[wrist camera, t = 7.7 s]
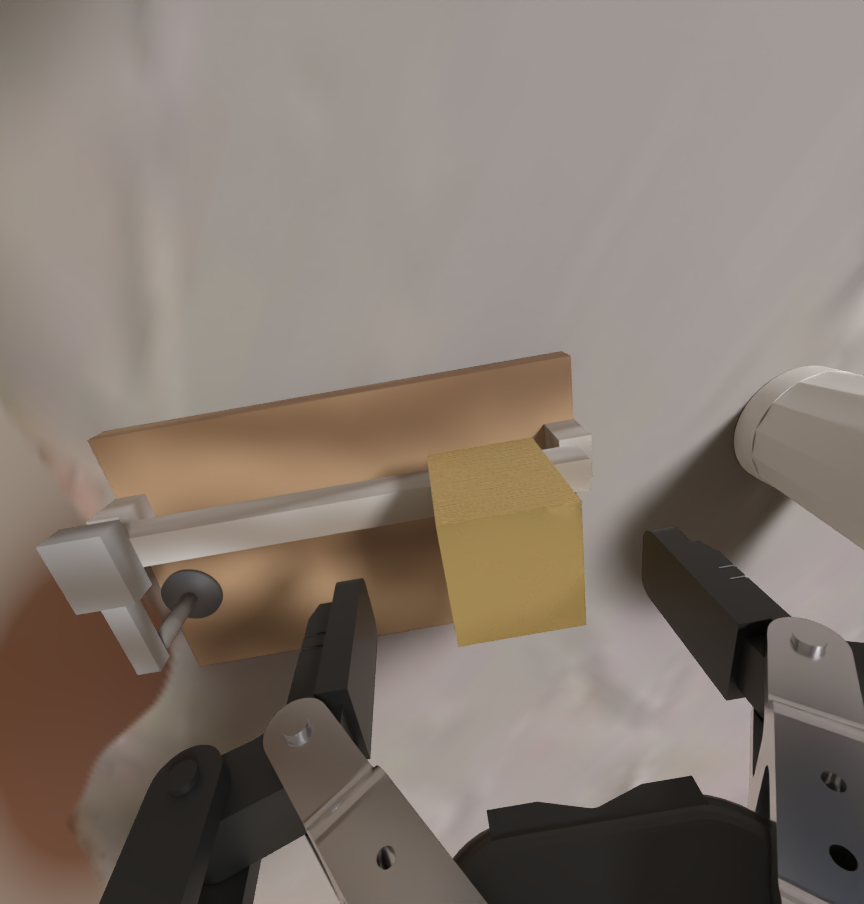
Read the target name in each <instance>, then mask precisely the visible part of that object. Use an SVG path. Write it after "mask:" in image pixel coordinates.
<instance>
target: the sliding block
mask: <svg viewBox="0 0 864 904" xmlns="http://www.w3.org/2000/svg"><path fill="white" fill-rule="evenodd" d="M427 461H428V468H429V476H430V484H431V492H432V500H433V508H434V515H435V523H436V530H437V535H438V540H439V546H440V551H441V556H442V562H443V567H444V573H445V578H446V583H447V589H448V594H449V599H450V605H451V610H452V615H453V621H454V626H455V632H456V637H457V642H458V647H460V646H466V645H472V644H477V643H483V642H489V641H495V640H501V639H507V638H512V637H518V636H524V635H530V634H536V633H542V632H547V631H553V630H559V629H565V628H571V627H577V626H583V625H586V606H585V580H584V553H583V526H582V501H581V500H580V498H579V497H578V496H577V494H576V493H575V492H574V491H573V489H572V488H571V487H570V485H569V484H568V483H567V482H566V480H565V479H564V478H563V476H562V475H561V474H560V473H559V471H558V470H557V469H556V467H555V466H554V465H553V464H552V462H551V461H550V460H549V458H548V457H547V456H546V455H545V453H544V452H543V451H542V449H541V448H540V447H539V446H538V444H537V443H536V442H535V440H534V439H533V438H532V437H530V438H524V439H518V440H513V441H507V442H501V443H495V444H490V445H484V446H478V447H472V448H467V449H461V450H455V451H449V452H444V453H438V454H432V455H427Z"/></svg>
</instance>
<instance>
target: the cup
mask: <svg viewBox="0 0 864 904" xmlns="http://www.w3.org/2000/svg"><path fill="white" fill-rule="evenodd" d="M734 449H735V454H736V457H737V459H738V461H739V463H740V465H741V466H742V467H743V468H744V469H745V470H746V471H747V472H748V473H749V474H751V475H753V476H754V477H756V478H758V479H760V480H761V481H763V482H765V483H766V484H768V485H770V486H772V487H774V488H776V489H778V490H779V491H781V492H782V493H783V494H785V495H786V496H788V497H789V498H791V499H792V500H793V501H795V502H796V503H798V504H799V505H800V506H802V507H803V508H805V509H806V510H808V511H809V512H810V513H812V514H813V515H815V516H816V517H818V518H819V519H820V520H822V521H823V522H825V523H826V524H828V525H829V526H830V527H832V528H833V529H835V530H836V531H838V532H839V533H840V534H842V535H843V536H845V537H846V538H848V539H849V540H850V541H852V542H853V543H855V544H856V545H857V546H859V547H860V548H862V549H863V550H864V375H858V374H854V373H850V372H846V371H842V370H837V369H833V368H828V367H824V366H805V367H800V368H796V369H793V370H790V371H787V372H785V373H783V374H781V375H779V376H777V377H776V378H774V379H772V380H771V381H770V382H768V383H767V384H766V385H764V386H763V387H762V388H761V389H760V390H759V391H758V392H757V393H756V394H755V395H754V396H753V397H752V398H751V400H750V401H749V402H748V404H747V405H746V407H745V408H744V410H743V412H742V413H741V415H740V418H739V420H738V423H737V426H736V429H735V435H734Z"/></svg>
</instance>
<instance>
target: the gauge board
mask: <svg viewBox="0 0 864 904" xmlns="http://www.w3.org/2000/svg"><path fill="white" fill-rule="evenodd" d="M530 437H532V438H533V439H534V440H535V442H536V443H537V444H538V446H539V447H540V448H541V449H542V451H543V452H544V453H545V455H546V456H547V457H548V458H549V460H550V461H551V462H552V464H553V465H554V466H555V467H556V469H557V470H558V471H559V473H560V474H561V475H562V476H563V478H564V479H565V480H566V482H567V483H568V484H569V485H570V487H571V488H572V489H573V491H574V492H575V493H576V492H580V491H586V490H591V477H593V475H592V437H591V434H590V433H589V432H588V431H587V430H585V429H584V428H583V427H582V426H581V425H580V424H578V423H577V422H576V421H575V420H574V419H573V403H572V379H571V356H570V355H568V354H566V353H564V352H562V351H561V352H555V353H550V354H544V355H538V356H533V357H527V358H521V359H515V360H510V361H504V362H498V363H493V364H487V365H481V366H475V367H470V368H464V369H458V370H453V371H447V372H441V373H436V374H430V375H424V376H418V377H413V378H407V379H401V380H396V381H390V382H384V383H378V384H373V385H367V386H361V387H356V388H350V389H344V390H339V391H333V392H327V393H321V394H316V395H310V396H304V397H299V398H293V399H287V400H281V401H276V402H270V403H264V404H259V405H253V406H247V407H241V408H236V409H230V410H224V411H219V412H213V413H207V414H202V415H196V416H190V417H184V418H179V419H173V420H167V421H162V422H156V423H150V424H144V425H139V426H133V427H127V428H122V429H116V430H110V431H105V432H102V433H101V434H99V435H97V436H95V437H93V438H91V439H89V440H88V442H89V444H90V446H91V448H92V450H93V452H94V454H95V456H96V458H97V460H98V462H99V464H100V466H101V468H102V470H103V473H104V475H105V477H106V479H107V481H108V483H109V485H110V487H111V489H112V491H113V493H114V495H115V497H116V499H115V500H114V501H113V502H111V503H110V504H109V505H108V506H106V507H105V508H104V509H103V510H101V511H100V512H99V513H97V514H96V515H95V516H94V517H92V518H91V519H90V520H89V521H87V522H86V524H87V525H84V526H78V527H72V528H67V529H61V530H58V531H57V532H56V533H54V534H53V535H52V536H50V537H49V538H48V539H46V540H45V541H44V542H42V543H41V544H40V545H38V546H37V547H36V549H37V551H38V552H39V554H40V556H41V557H42V559H43V561H44V562H45V564H46V566H47V567H48V569H49V571H50V572H51V574H52V576H53V577H54V579H55V580H56V582H57V584H58V585H59V587H60V589H61V590H62V592H63V594H64V595H65V597H66V599H67V600H68V602H69V604H70V605H71V607H72V608H73V610H74V612H75V614H76V615H78V614H84V613H90V612H96V611H101V612H102V613H103V615H104V617H105V618H106V620H107V622H108V624H109V625H110V627H111V629H112V631H113V632H114V634H115V636H116V637H117V639H118V641H119V643H120V644H121V646H122V648H123V650H124V651H125V653H126V655H127V657H128V658H129V660H130V662H131V664H132V665H133V667H134V669H135V671H136V672H137V674H138V675H140V674H146V673H152V672H158V671H161V670H162V668H163V666H164V665H165V663H166V661H167V660H168V658H169V654H168V652H167V649H168V648H169V646H170V645H171V643H172V641H173V640H174V638H175V637H176V635H177V633H178V632H179V630H180V629H181V630H182V632H183V634H184V636H185V638H186V640H187V642H188V644H189V646H190V648H191V650H192V652H193V654H194V656H195V658H196V660H197V662H198V664H199V666H206V665H212V664H218V663H224V662H229V661H235V660H241V659H247V658H253V657H258V656H264V655H270V654H276V653H282V652H288V651H293V650H299V649H301V647H302V643H303V639H304V638H305V632H306V628H307V624H308V620H309V618H310V617H311V615H312V614H313V613H314V611H315V610H316V608H317V607H318V606H319V604H323V603H329V602H332V600H333V595H334V590H335V585H336V583H337V582H341V581H347V580H353V579H359V578H363V579H364V581H365V584H366V587H367V591H368V595H369V598H370V602H371V606H372V610H373V613H374V617H375V622H376V628H377V636H381V635H387V634H393V633H398V632H404V631H410V630H416V629H422V628H427V627H433V626H439V625H445V624H451V623H454V621H453V615H452V610H451V605H450V599H449V594H448V589H447V583H446V578H445V573H444V567H443V562H442V556H441V551H440V546H439V540H438V535H437V530H436V523H435V515H434V508H433V500H432V492H431V484H430V476H429V468H428V461H427V455H432V454H438V453H444V452H449V451H455V450H461V449H467V448H472V447H478V446H484V445H490V444H495V443H501V442H507V441H513V440H518V439H524V438H530ZM147 566H150V567H151V569H152V571H153V573H154V575H155V577H156V579H157V581H158V583H159V585H160V587H161V596H162V599H163V601H164V603H165V605H166V606H167V607H168V608H169V609H170V610H171V613H170V614H169V615H168V617H167V618H166V620H165V621H164V623H163V624H162V626H161V627H160V629H159V630H158V632H157V631H156V629H155V627H154V625H153V624H152V622H151V620H150V618H149V616H148V614H147V612H146V610H145V608H144V606H143V605H142V603H141V601H140V599H141V598H142V597H143V595H144V594H145V593H146V592H147V590H148V589H149V588H150V587H151V585H152V583H151V581H150V579H149V577H148V575H147V573H146V571H145V569H144V567H147Z"/></svg>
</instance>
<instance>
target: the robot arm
mask: <svg viewBox="0 0 864 904" xmlns="http://www.w3.org/2000/svg"><path fill="white" fill-rule="evenodd" d="M642 581H643V585H644V588H645V591H646V593H647V595H648V596H649V598H650V599H651V601H652V602H653V603H654V605H655V606H656V607H657V609H658V610H659V611H660V613H661V614H662V615H663V617H664V618H665V619H666V621H667V622H668V623H669V625H670V626H671V627H672V629H673V630H674V631H675V633H676V634H677V635H678V637H679V638H680V639H681V641H682V642H683V643H684V645H685V646H686V647H687V649H688V650H689V651H690V653H691V654H692V655H693V657H694V658H695V659H696V661H697V662H698V663H699V665H700V666H701V667H702V669H703V670H704V671H705V673H706V674H707V675H708V677H709V678H710V679H711V681H712V682H713V683H714V685H715V686H716V687H717V689H718V690H719V691H720V693H721V694H722V695H723V697H724V698H725V699H726V700H732V699H738V698H744V697H746V699H747V700H748V701H749V702H750V704H751V705H752V711H751V725H750V775H749V797H748V806H747V808H746V807H743V806H741V805H739V804H737V803H734V802H731V801H728V800H725V799H722V798H718V797H714V796H710V795H703V794H702V792H701V791H700V789H699V787H698V786H697V784H696V782H695V780H694V778H693V777H692V776H687V777H681V778H675V779H669V780H663V781H657V782H651V783H646V784H641V785H639V786H637V787H635V788H633V789H632V790H630V791H628V792H626V793H624V794H622V795H620V796H618V797H617V798H615V799H613V800H611V801H609V802H607V803H605V804H604V805H602V806H600V807H597V808H583V807H575V806H567V805H559V804H551V803H543V802H533V803H527V804H521V805H515V806H509V807H503V808H498V809H492V810H487V815H488V821H489V829H487V830H485V831H483V832H481V833H480V834H478V835H477V836H475V837H474V838H473V839H471V840H470V841H469V842H468V843H467V844H465V845H464V846H463V847H462V848H461V849H460V850H459V851H458V853H457V854H456V855H455V856H454V858H453V859H452V857H451V856H450V855H449V853H448V852H447V851H446V850H445V848H444V847H443V846H442V844H441V843H440V842H439V841H438V839H437V838H436V837H435V835H434V834H433V833H432V831H431V830H430V829H429V828H428V826H427V825H426V824H425V822H424V821H423V820H422V819H421V817H420V816H419V815H418V813H417V812H416V811H415V810H414V808H413V807H412V806H411V804H410V803H409V802H408V801H407V799H406V798H405V797H404V795H403V794H402V793H401V792H400V790H399V789H398V788H397V786H396V785H395V784H394V783H393V781H392V780H391V779H390V777H389V776H388V775H387V774H386V773H385V771H384V770H383V769H382V768H381V767H379V766H375V767H373V766H372V765H371V764H370V763H369V762H368V760H367V759H370V754H371V737H372V721H373V704H374V688H375V671H376V654H377V628H376V622H375V617H374V613H373V610H372V606H371V602H370V598H369V595H368V591H367V587H366V584H365V581H364V579H363V578H359V579H353V580H347V581H341V582H337V583H336V585H335V590H334V595H333V600H332V602H329V603H323V604H319V606H318V607H317V608H316V610H315V611H314V613H313V614H312V615H311V617H310V618H309V620H308V624H307V628H306V632H305V638H304V639H303V643H302V647H301V652H300V655H299V659H298V663H297V667H296V670H295V674H294V678H293V682H292V686H291V690H290V694H289V698H288V701H287V704H286V706H284V707H283V708H282V709H281V710H279V711H278V712H277V713H276V714H275V715H274V717H273V718H272V719H271V720H270V722H269V724H268V725H267V728H266V730H265V733H264V734H262V735H261V736H260V737H258V738H256V739H254V740H253V741H251V742H249V743H246V744H244V745H242V746H240V747H238V748H236V749H234V750H232V751H230V752H228V753H226V754H224V755H221V754H220V752H219V751H218V750H217V749H216V748H215V747H213V746H210V745H198V746H194V747H191V748H189V749H186V750H184V751H183V752H181V753H179V754H178V755H176V756H175V757H174V758H172V759H171V760H170V761H169V762H168V763H167V764H166V765H165V766H164V767H163V768H162V769H161V770H160V771H159V772H158V774H157V775H156V776H155V778H154V779H153V781H152V783H151V785H150V787H149V789H148V791H147V793H146V796H145V798H144V800H143V803H142V805H141V807H140V810H139V812H138V814H137V817H136V819H135V821H134V824H133V826H132V828H131V831H130V833H129V835H128V838H127V840H126V842H125V845H124V847H123V849H122V852H121V854H120V856H119V859H118V861H117V863H116V866H115V868H114V870H113V873H112V875H111V877H110V880H109V882H108V884H107V887H106V889H105V891H104V894H103V896H102V898H101V901H100V903H99V904H253V901H254V895H255V890H256V884H257V879H258V874H259V868H260V863H261V859H262V858H264V857H266V856H267V855H269V854H271V853H273V852H274V851H276V850H278V849H280V848H282V847H283V846H285V845H287V844H289V843H290V842H292V841H294V840H296V839H298V838H299V837H301V836H303V835H305V837H306V839H307V841H308V843H309V845H310V847H311V849H312V851H313V853H314V855H315V856H316V858H317V860H318V862H319V864H320V866H321V868H322V870H323V872H324V874H325V876H326V878H327V879H328V881H329V883H330V885H331V887H332V889H333V891H334V893H335V895H336V897H337V899H338V900H339V902H340V904H864V643H859V642H849V641H845V640H844V639H843V638H842V637H841V636H840V635H839V634H837V633H836V632H834V631H833V630H831V629H829V628H828V627H826V626H824V625H822V624H819V623H817V622H814V621H811V620H807V619H803V618H797V617H791V616H790V615H789V614H788V613H787V612H786V611H784V610H783V609H782V608H781V607H780V606H779V605H778V604H777V603H776V602H774V601H773V600H772V599H771V598H770V597H769V596H768V595H767V594H766V593H764V592H763V591H762V590H761V589H760V588H759V587H758V586H757V585H756V584H754V583H753V582H752V581H751V580H750V579H749V578H746V577H745V575H744V574H743V573H742V572H741V571H740V570H739V569H738V568H737V567H734V566H733V564H732V563H731V562H730V561H729V560H728V559H727V558H725V557H724V556H723V555H722V554H721V553H720V552H719V551H717V550H715V549H713V548H711V547H709V546H707V545H705V544H703V543H701V542H699V541H697V542H691V541H690V540H689V539H688V538H687V537H686V536H685V535H684V534H683V533H682V532H681V531H680V530H679V529H677V528H676V527H667V528H661V529H655V530H649V531H646V532H645V533H644V536H643V556H642Z"/></svg>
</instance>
